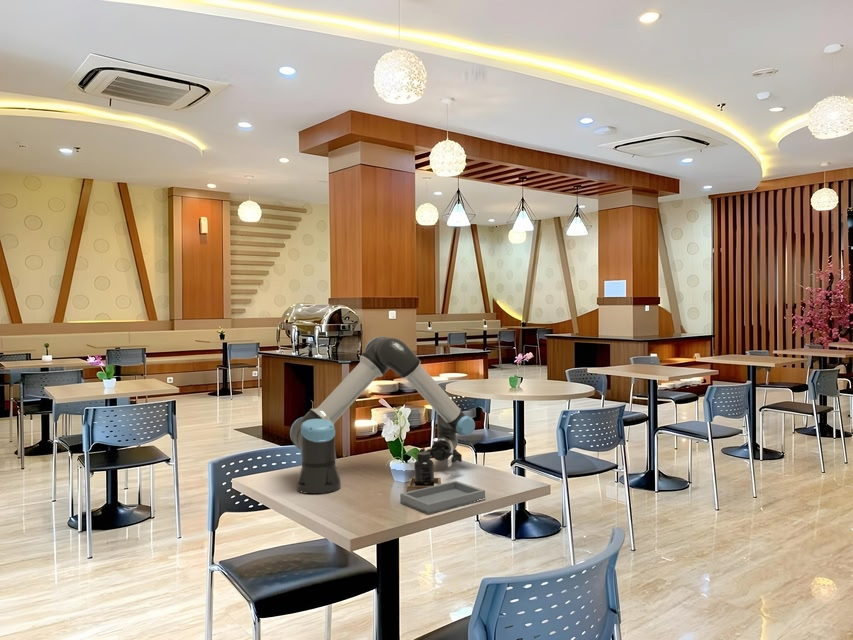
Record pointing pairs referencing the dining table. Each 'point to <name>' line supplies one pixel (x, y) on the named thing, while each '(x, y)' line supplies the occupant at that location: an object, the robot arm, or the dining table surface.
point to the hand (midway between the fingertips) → (430, 462)
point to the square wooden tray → (412, 488)
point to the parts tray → (441, 497)
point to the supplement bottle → (424, 470)
